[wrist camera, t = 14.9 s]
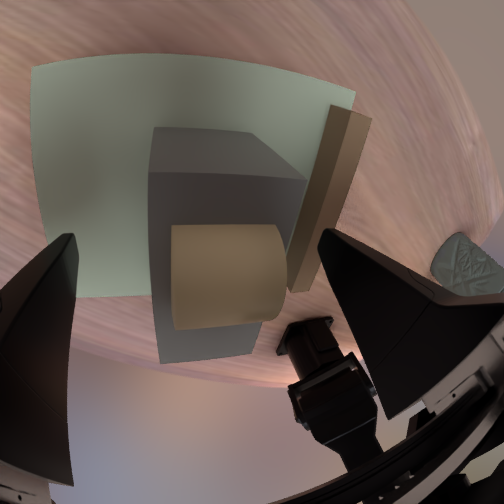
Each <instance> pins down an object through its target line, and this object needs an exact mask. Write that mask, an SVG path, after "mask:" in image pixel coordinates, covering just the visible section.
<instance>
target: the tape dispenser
mask: <svg viewBox="0 0 504 504" xmlns="http://www.w3.org/2000/svg"><path fill="white" fill-rule="evenodd" d="M307 181H308V180H307V179H306V178H305V177H304V176H303V175H301V174H300V173H299V172H298V171H297V170H296V169H295V168H293V167H292V166H291V165H290V164H289V163H288V162H287V161H285V160H284V159H283V158H282V157H281V156H279V155H278V154H277V153H276V152H275V151H273V150H272V149H271V148H270V147H269V146H267V145H266V144H265V143H264V142H262V141H261V140H260V139H259V138H257V137H256V136H255V135H254V134H252V133H248V132H238V131H228V130H215V129H200V128H177V127H154V129H153V136H152V143H151V151H150V159H149V168H148V248H149V267H150V281H151V294H152V304H153V314H154V323H155V331H156V339H157V346H158V353H159V359H160V364H167V363H179V362H190V361H200V360H208V359H217V358H224V357H232V356H239V355H245V354H252V351H253V348H254V345H255V342H256V339H257V337H258V334H259V331H260V328H261V325H262V322H263V321H270V320H273V319H275V318H276V317H277V316H278V314H279V313H280V311H281V309H282V306H283V303H284V299H285V295H286V288H287V262H286V254H285V253H286V249H287V246H288V243H289V240H290V237H291V234H292V230H293V227H294V224H295V221H296V217H297V214H298V211H299V207H300V204H301V201H302V197H303V194H304V191H305V187H306V184H307Z"/></svg>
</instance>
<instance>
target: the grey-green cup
mask: <svg viewBox="0 0 504 504" xmlns="http://www.w3.org/2000/svg"><path fill="white" fill-rule="evenodd" d="M431 273H432V275H433V276H434V277H435V278H436V280H437V281H438V282H439V283H440V284H441V285H442V286H443V287H444V288H445V289H447V290H449V291H451V292H453V293H455V294H457V295H460V296H477V295H486V294H494V293H502V292H504V268H503V267H501V266H500V265H498V264H497V262H495V260H494V259H492V258H491V257H490V256H489V255H487V254H486V252H485V251H483V250H482V249H481V248H480V247H478V246H477V245H476V244H475V243H473V242H472V241H471V240H470V239H469V238H468V237H467V236H465V235H464V234H463V233H459V232H458V233H455V234H453V235H452V236H451V237H450V238H449V239H447V240H446V242H445V243H444V244H443V245H442V246H441V248H440V249H439V251H438V252H437V254H436V255H435V257H434V259H433V262H432V264H431Z"/></svg>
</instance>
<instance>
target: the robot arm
mask: <svg viewBox="0 0 504 504" xmlns="http://www.w3.org/2000/svg"><path fill="white" fill-rule="evenodd" d="M317 251H318V254H319V257H320V259H321V262H322V265H323V267H324V270H325V273H326V276H327V278H328V281H329V283H330V286H331V288H332V290H333V292H334V294H335V296H336V298H337V300H338V303H339V305H340V307H341V309H342V311H343V313H344V316H345V318H346V320H347V322H348V325H349V327H350V329H351V331H352V334H353V336H354V338H355V340H356V343H357V345H358V347H359V350H360V352H361V354H362V357H363V359H364V361H365V364H366V366H367V368H368V371H369V373H370V376H371V378H372V381H373V384H374V386H375V388H376V390H375V388H374V386H373V384H372V382H371V380H370V379H369V377H368V375H367V374H366V372H365V370H364V369H363V367H362V366H361V364H360V363H359V361H358V360H357V358H356V356H355V355H354V353H353V352H350V353H348V355H346V356H345V357H344V355H343V354H342V352H341V350H340V348H339V347H338V346H339V344H338V343H337V341H336V339H335V337H334V336H333V334H332V332H331V331H330V329H329V328H330V326H331V325H332V323H333V321H334V319H333V318H332V317H327V318H322V319H317V320H311V321H306V322H300V323H294V324H291V325H289V326H288V328H287V330H286V332H285V334H284V336H283V339H282V341H281V343H280V345H279V347H278V349H277V351H276V353H277V355H278V356H280V355H285V354H288V355H289V357H290V359H291V362H292V364H293V366H294V368H295V370H296V373H297V375H298V377H299V379H300V381H298V382H296V383H294V384H291V385H288V388H289V390H288V394H289V397H290V399H291V402H292V405H293V410H294V416H295V420H296V422H297V423H300V424H302V426H304V428H305V429H306V430H307V431H308V430H311V433H312V435H313V436H314V438H315V440H316V441H318V442H319V443H321V444H322V445H325V446H327V447H328V448H330V449H332V450H333V451H335V452H337V453H338V454H339V455H340V456H341V458H342V461H343V462H344V465H345V467H346V469H347V471H348V473H346V474H343V475H341V476H339V477H337V478H335V479H333V480H331V481H328V482H326V483H324V484H321V485H319V486H317V487H314V488H312V489H309V490H307V491H304V492H301V493H299V494H296V495H293V496H290V497H288V498H284V499H282V500H278V501H275V502H272V503H268V504H357V503H359V502H361V501H362V502H363V504H504V460H502V461H501V462H500V463H499V464H498V466H497V468H496V469H495V470H494V472H493V473H492V474H491V476H489V477H487V478H484V479H482V480H480V481H478V482H475V483H473V484H470V482H469V479H468V478H467V476H466V474H459V473H460V472H461V471H462V470H463V469H464V468H465V466H466V465H467V464H468V463H469V462H470V461H471V460H473V459H475V458H477V457H479V456H481V455H483V454H484V453H486V452H488V451H490V450H492V449H493V448H495V447H497V446H498V445H500V444H502V443H503V442H504V292H502V293H494V294H486V295H477V296H460V295H457V294H455V293H453V292H451V291H449V290H447V289H445V288H444V287H442V286H440V285H438V284H436V283H434V282H432V281H431V280H429V279H427V278H425V277H423V276H421V275H420V274H418V273H416V272H414V271H413V270H411V269H409V268H407V267H405V266H404V265H402V264H400V263H398V262H397V261H395V260H393V259H391V258H389V257H388V256H386V255H384V254H382V253H380V252H379V251H377V250H375V249H373V248H371V247H369V246H367V245H365V244H364V243H362V242H360V241H358V240H356V239H354V238H352V237H350V236H348V235H346V234H344V233H342V232H340V231H339V230H337V229H334V228H325V229H324V230H323V232H322V234H321V237H320V240H319V242H318V245H317ZM78 267H79V252H78V247H77V242H76V237H75V235H74V233H63V234H61V235H60V236H59V237H58V238H56V239H55V240H54V241H53V242H52V243H50V244H49V245H48V246H47V247H46V248H44V249H43V250H42V251H41V252H40V253H39V254H38V255H36V256H35V257H34V258H33V259H32V260H31V261H30V262H29V263H28V264H26V265H25V266H24V267H23V268H22V269H21V270H20V271H19V272H18V273H17V274H16V275H15V276H14V277H13V278H12V279H11V280H10V281H9V282H8V283H7V284H6V285H5V286H4V287H3V288H2V289H1V290H0V504H56V503H55V502H54V501H53V500H52V499H51V498H50V491H49V484H48V482H49V483H54V484H60V485H66V486H74V482H73V475H72V468H71V461H70V451H69V439H68V423H67V380H68V361H69V348H70V339H71V330H72V322H73V315H74V309H75V302H76V291H77V278H78ZM353 368H354V369H355V370H353V371H352V369H353ZM376 391H377V393H376ZM377 394H378V396H379V399H380V402H381V404H382V407H383V409H384V412H385V415H386V417H387V419H388V420H390V419H392V418H394V417H395V416H397V415H399V414H400V413H402V412H404V411H405V410H407V409H408V408H410V407H412V406H413V405H415V404H416V403H418V402H419V401H421V400H422V401H423V402H424V404H425V406H426V408H424V409H423V410H421V411H420V412H418V413H417V414H416V415H414V416H413V417H411V418H410V419H409V425H408V430H407V436H406V439H404V440H403V441H401V442H400V443H398V444H397V445H395V446H393V447H392V448H390V449H389V450H387V451H386V452H383V450H382V448H381V446H380V444H379V442H378V440H377V439H376V436H375V432H376V424H377V423H376V422H377V411H378V409H377V405H376V403H375V401H374V399H373V397H374V396H376V395H377Z"/></svg>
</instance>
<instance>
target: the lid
mask: <svg viewBox="0 0 504 504" xmlns="http://www.w3.org/2000/svg"><path fill="white" fill-rule="evenodd" d="M355 94H356V92H355V91H352V90H350V89H347V88H344V87H341V86H338V85H335V84H332V83H329V82H326V81H323V80H320V79H317V78H313V77H310V76H306V75H303V74H299V73H295V72H291V71H287V70H283V69H279V68H274V67H270V66H265V65H260V64H255V63H250V62H244V61H238V60H231V59H224V58H216V57H207V56H197V55H183V54H158V53H139V54H115V55H102V56H92V57H83V58H76V59H69V60H63V61H58V62H52V63H47V64H43V65H38V66H34V67H32V73H31V89H30V131H31V148H32V159H33V168H34V176H35V183H36V190H37V196H38V202H39V207H40V212H41V217H42V221H43V226H44V230H45V234H46V238H47V242H48V245H49V244H50V243H52V242H53V241H54V240H55V239H56V238H58V237H59V236H60V235H61V234H63V233H74V235H75V237H76V242H77V247H78V252H79V267H78V278H77V291H76V297H115V296H141V295H152V294H151V281H150V267H149V248H148V168H149V159H150V151H151V143H152V136H153V129H154V127H177V128H200V129H215V130H228V131H238V132H248V133H252V134H254V135H255V136H256V137H257V138H259V139H260V140H261V141H262V142H264V143H265V144H266V145H267V146H269V147H270V148H271V149H272V150H273V151H275V152H276V153H277V154H278V155H279V156H281V157H282V158H283V159H284V160H285V161H287V162H288V163H289V164H290V165H291V166H292V167H293V168H295V169H296V170H297V171H298V172H299V173H300V174H301V175H303V176H304V177H305V178H306V179H307V180H308V181H307V184H306V187H305V191H304V194H303V197H302V201H301V204H300V207H299V211H298V214H297V217H296V221H295V224H294V227H293V230H292V234H291V237H290V240H289V243H288V246H287V249H286V253H285V254H286V262H287V287H288V289H289V291H290V293H295V292H304V291H309V290H310V287H311V285H312V283H313V280H314V278H315V276H316V273H317V271H318V269H319V266H320V264H321V259H320V257H319V254H318V251H317V245H318V242H319V240H320V237H321V234H322V232H323V230H324V229H325V228H334V229H335V226H336V224H337V221H338V218H339V216H340V213H341V210H342V208H343V205H344V202H345V200H346V197H347V194H348V191H349V188H350V186H351V183H352V180H353V177H354V174H355V171H356V168H357V165H358V162H359V159H360V156H361V153H362V150H363V147H364V144H365V141H366V137H367V134H368V131H369V127H370V124H371V121H372V118H369V117H367V116H364V115H362V114H359V113H356V112H354V111H351V109H352V105H353V101H354V97H355Z"/></svg>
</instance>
